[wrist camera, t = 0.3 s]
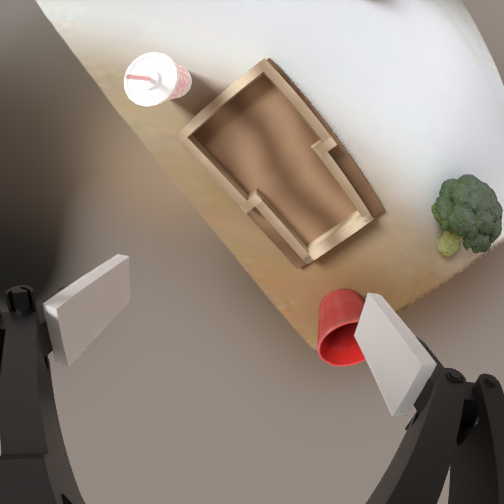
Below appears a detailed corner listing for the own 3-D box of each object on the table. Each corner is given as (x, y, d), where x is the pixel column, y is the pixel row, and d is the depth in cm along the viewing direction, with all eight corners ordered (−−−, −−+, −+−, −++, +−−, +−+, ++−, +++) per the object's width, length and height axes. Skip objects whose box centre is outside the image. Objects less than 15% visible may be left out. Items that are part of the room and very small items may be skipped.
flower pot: (304, 325, 51) (309, 366, 43) (319, 278, 45) (329, 319, 37) (356, 328, 51) (368, 367, 43) (376, 283, 46) (394, 321, 37)
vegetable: (403, 249, 40) (448, 179, 27) (426, 207, 45) (461, 145, 32) (459, 293, 35) (517, 237, 23) (474, 245, 40) (517, 190, 28)
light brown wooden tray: (269, 59, 29) (270, 54, 26) (381, 206, 39) (391, 216, 35) (178, 137, 35) (169, 141, 32) (297, 265, 44) (299, 279, 41)
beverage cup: (146, 93, 32) (89, 96, 20) (167, 55, 29) (118, 37, 17) (183, 111, 33) (140, 119, 21) (206, 72, 31) (172, 57, 18)
